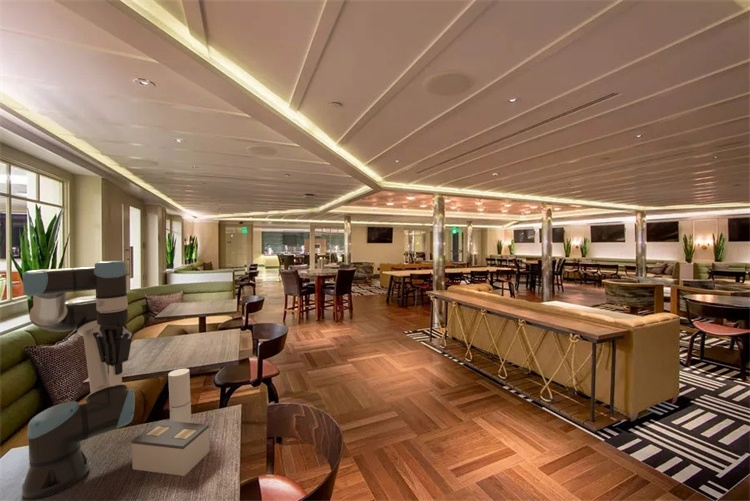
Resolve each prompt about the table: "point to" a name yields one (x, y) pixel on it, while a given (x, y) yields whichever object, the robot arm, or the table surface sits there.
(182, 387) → the cylindrical container
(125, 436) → the table surface
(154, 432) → the peg
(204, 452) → the plinth
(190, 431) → the peg
